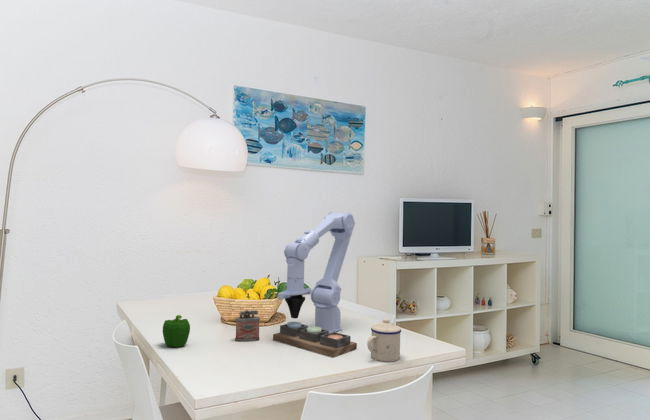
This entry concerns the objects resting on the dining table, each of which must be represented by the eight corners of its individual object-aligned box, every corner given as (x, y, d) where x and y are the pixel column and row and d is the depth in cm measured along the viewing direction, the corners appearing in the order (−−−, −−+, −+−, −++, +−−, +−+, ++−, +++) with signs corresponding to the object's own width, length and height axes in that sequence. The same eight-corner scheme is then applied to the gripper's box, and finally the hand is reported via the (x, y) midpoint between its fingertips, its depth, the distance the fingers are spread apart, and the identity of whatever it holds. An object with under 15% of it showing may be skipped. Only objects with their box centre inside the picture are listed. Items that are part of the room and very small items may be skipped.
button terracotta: (334, 339, 154) (334, 333, 154) (345, 342, 151) (346, 336, 151) (324, 342, 150) (324, 336, 150) (336, 345, 147) (336, 339, 147)
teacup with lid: (384, 351, 151) (385, 314, 151) (406, 358, 144) (407, 320, 144) (357, 358, 143) (358, 319, 143) (378, 366, 136) (379, 325, 136)
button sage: (313, 330, 160) (313, 325, 160) (324, 333, 156) (324, 328, 156) (303, 333, 156) (303, 328, 156) (314, 336, 153) (314, 330, 153)
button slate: (294, 326, 165) (294, 320, 165) (304, 328, 162) (304, 323, 162) (284, 328, 162) (284, 323, 162) (294, 331, 159) (294, 325, 159)
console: (297, 333, 169) (297, 320, 169) (356, 349, 152) (356, 334, 152) (272, 340, 160) (273, 326, 160) (332, 357, 143) (333, 342, 143)
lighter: (235, 342, 157) (236, 311, 157) (234, 339, 160) (235, 309, 160) (260, 341, 159) (260, 311, 159) (258, 338, 162) (259, 308, 162)
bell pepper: (161, 342, 154) (162, 311, 154) (188, 340, 157) (189, 310, 157) (162, 350, 146) (163, 317, 146) (190, 348, 149) (191, 316, 149)
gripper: (301, 274, 170) (300, 312, 170) (271, 278, 159) (270, 319, 159) (316, 276, 166) (315, 316, 166) (286, 281, 154) (285, 322, 155)
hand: (294, 317), depth 162 cm, fingers closed
